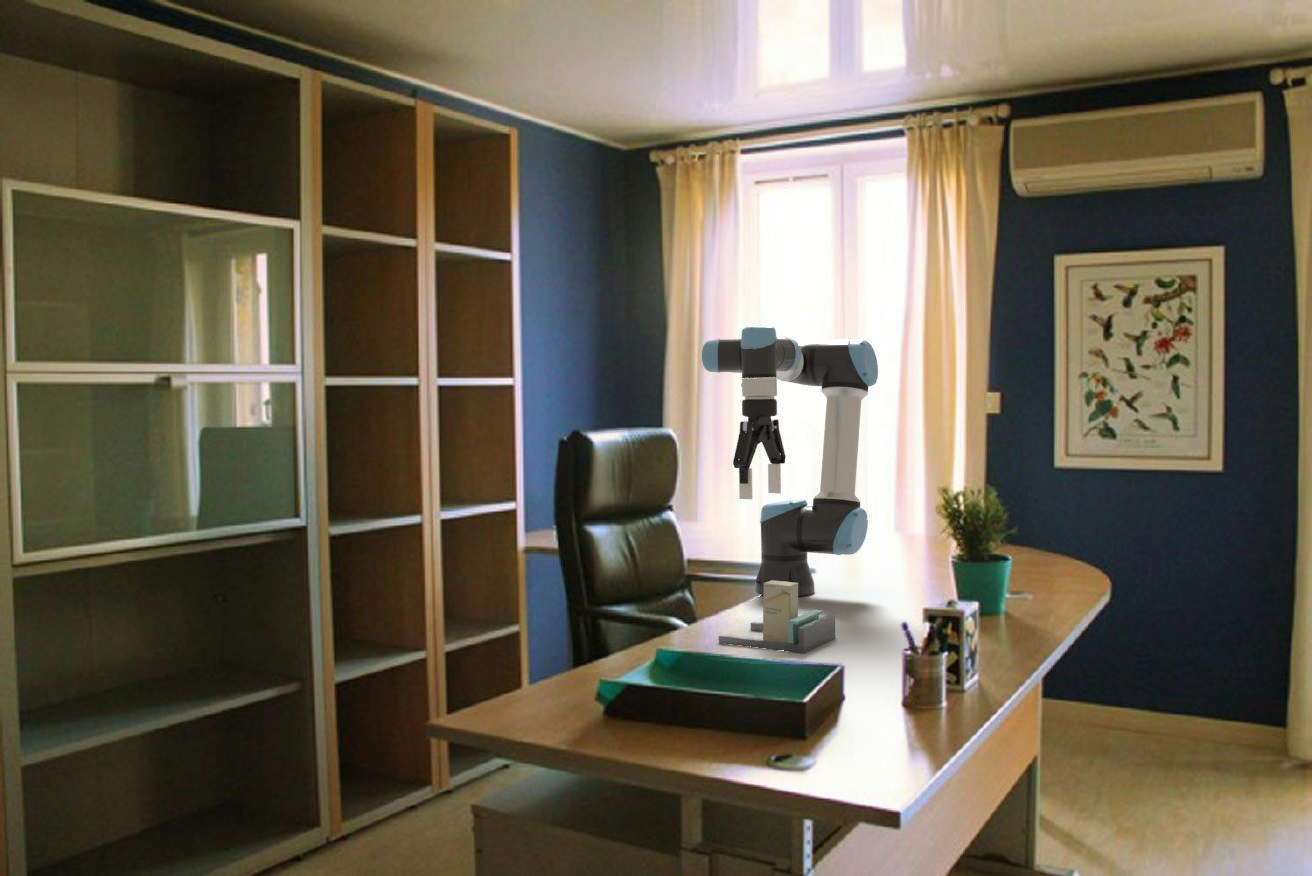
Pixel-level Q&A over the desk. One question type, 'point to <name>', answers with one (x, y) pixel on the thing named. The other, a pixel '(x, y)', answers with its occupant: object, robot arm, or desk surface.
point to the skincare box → (779, 609)
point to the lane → (807, 636)
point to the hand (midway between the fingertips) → (760, 496)
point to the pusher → (801, 624)
